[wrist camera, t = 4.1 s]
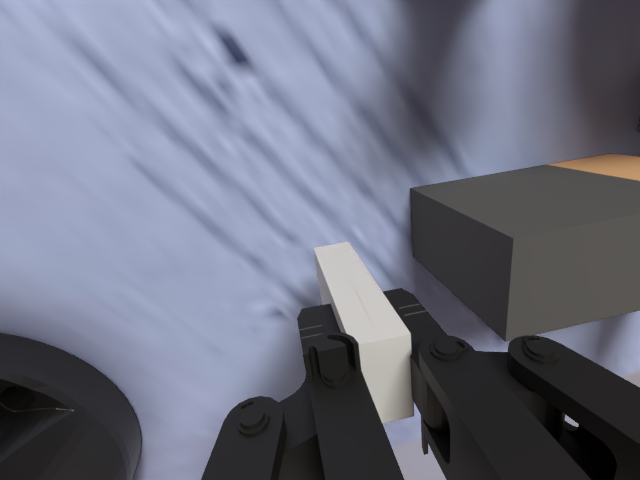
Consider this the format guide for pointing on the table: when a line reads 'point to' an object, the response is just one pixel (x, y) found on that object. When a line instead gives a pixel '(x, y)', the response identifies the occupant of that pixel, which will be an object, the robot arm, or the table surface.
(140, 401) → the table surface
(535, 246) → the grey and orange block
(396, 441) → the table surface
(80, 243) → the table surface
